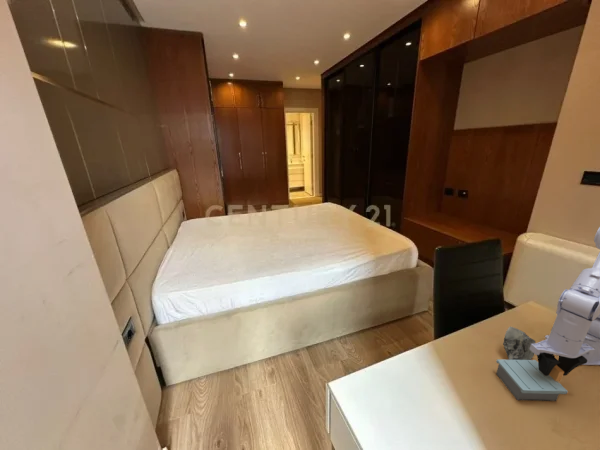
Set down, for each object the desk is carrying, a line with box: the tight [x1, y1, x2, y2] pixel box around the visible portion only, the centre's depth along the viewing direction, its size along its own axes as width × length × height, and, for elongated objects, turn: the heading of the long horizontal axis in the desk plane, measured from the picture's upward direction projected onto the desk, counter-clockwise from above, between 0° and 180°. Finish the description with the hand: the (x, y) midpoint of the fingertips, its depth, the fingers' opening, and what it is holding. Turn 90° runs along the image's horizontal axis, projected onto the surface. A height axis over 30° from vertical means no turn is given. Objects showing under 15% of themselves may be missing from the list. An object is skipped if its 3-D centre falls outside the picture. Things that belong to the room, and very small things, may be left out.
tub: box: [495, 364, 560, 402], centre depth 69 cm, size 10×8×4 cm
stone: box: [502, 325, 536, 360], centre depth 79 cm, size 10×10×10 cm
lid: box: [495, 358, 569, 395], centre depth 67 cm, size 12×10×4 cm
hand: (551, 372), depth 67 cm, fingers open, 4 cm apart
